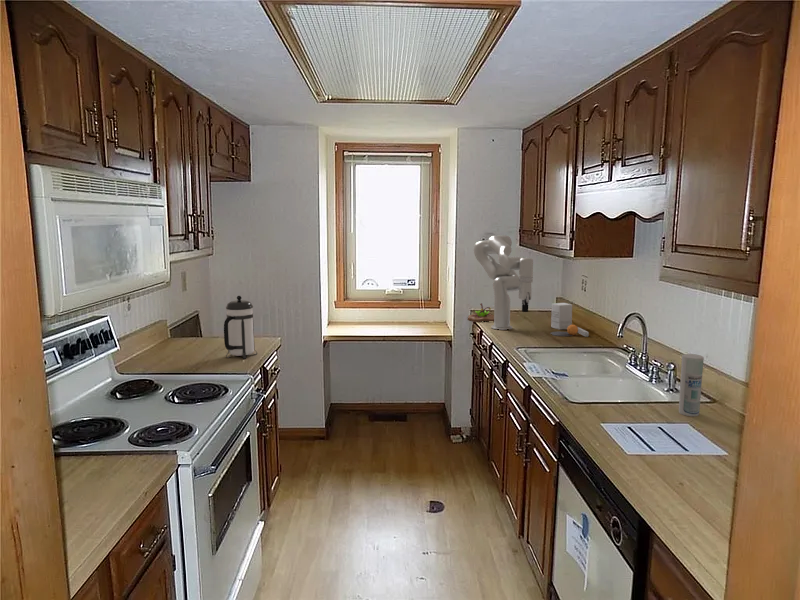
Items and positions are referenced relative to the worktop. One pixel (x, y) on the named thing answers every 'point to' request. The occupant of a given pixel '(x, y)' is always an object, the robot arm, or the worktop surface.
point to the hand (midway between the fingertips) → (525, 311)
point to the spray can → (690, 384)
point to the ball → (572, 329)
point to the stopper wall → (583, 332)
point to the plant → (481, 315)
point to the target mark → (560, 334)
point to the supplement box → (561, 315)
